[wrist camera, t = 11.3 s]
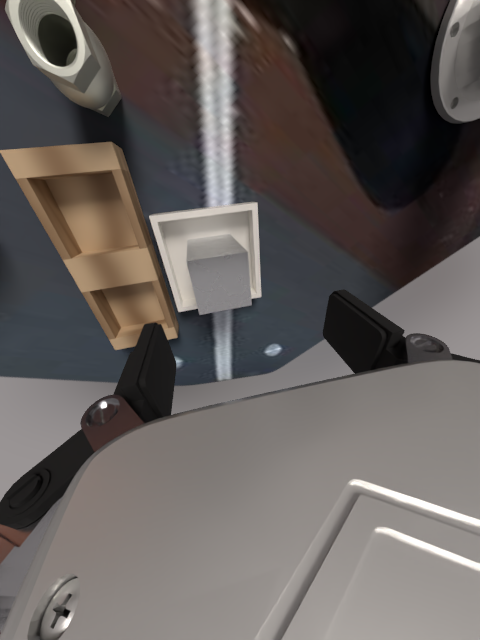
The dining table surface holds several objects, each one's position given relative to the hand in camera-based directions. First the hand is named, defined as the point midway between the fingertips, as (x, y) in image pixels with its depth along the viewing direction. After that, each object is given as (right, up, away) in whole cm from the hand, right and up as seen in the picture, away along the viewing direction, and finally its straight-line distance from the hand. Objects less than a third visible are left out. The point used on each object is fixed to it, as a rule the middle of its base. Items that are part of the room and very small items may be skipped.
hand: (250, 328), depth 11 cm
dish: (-4, +8, +14) cm, 17 cm away
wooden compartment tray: (-14, +7, +12) cm, 20 cm away
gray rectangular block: (-4, +8, +14) cm, 16 cm away
